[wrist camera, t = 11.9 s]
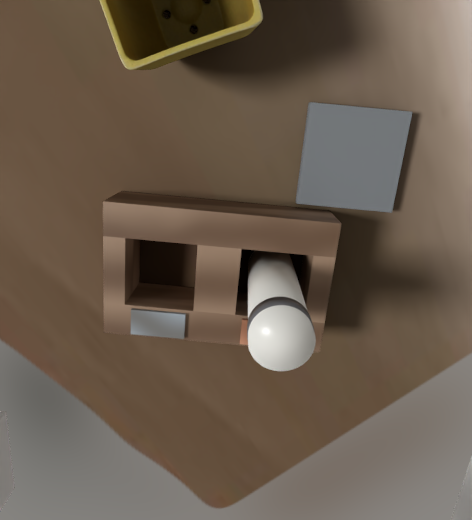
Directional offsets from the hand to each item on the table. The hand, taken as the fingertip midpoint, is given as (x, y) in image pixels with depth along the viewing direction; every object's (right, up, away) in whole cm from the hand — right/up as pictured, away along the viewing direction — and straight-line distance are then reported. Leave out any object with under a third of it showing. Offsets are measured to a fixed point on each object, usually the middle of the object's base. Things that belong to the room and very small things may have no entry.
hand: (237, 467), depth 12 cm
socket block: (-1, +6, +26) cm, 27 cm away
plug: (+3, +5, +26) cm, 27 cm away
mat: (+9, +14, +23) cm, 29 cm away
